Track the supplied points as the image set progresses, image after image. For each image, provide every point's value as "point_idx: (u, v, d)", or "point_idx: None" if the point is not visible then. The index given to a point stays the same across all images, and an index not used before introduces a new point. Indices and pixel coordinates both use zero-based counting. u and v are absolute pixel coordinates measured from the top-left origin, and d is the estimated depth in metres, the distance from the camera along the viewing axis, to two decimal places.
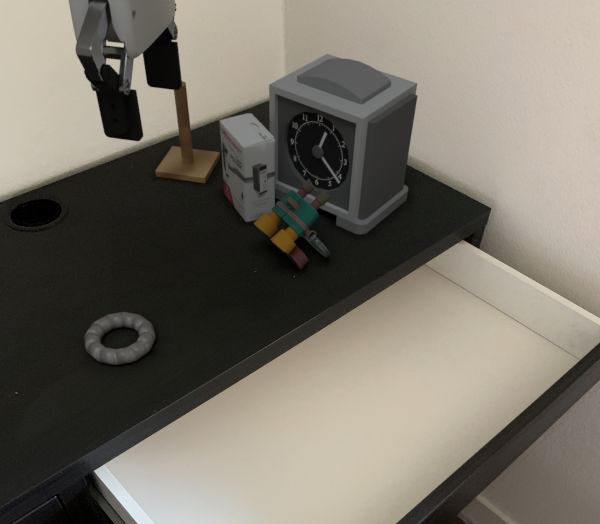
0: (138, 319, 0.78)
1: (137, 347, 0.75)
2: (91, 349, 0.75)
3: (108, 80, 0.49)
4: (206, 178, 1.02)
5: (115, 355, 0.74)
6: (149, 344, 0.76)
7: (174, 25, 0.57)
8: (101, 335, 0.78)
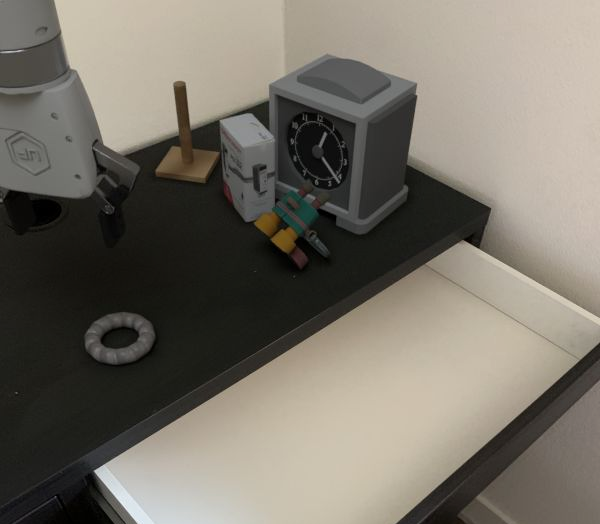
0: (138, 319, 0.78)
1: (137, 347, 0.75)
2: (91, 349, 0.75)
3: None
4: (206, 178, 1.02)
5: (115, 355, 0.74)
6: (149, 344, 0.76)
7: None
8: (101, 335, 0.78)
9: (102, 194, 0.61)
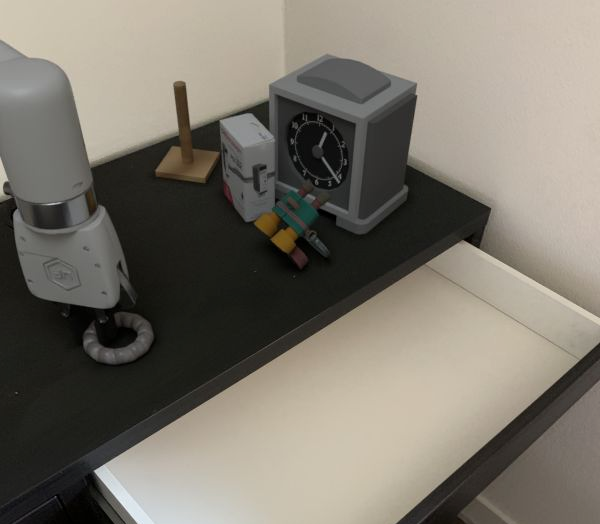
0: (136, 319, 0.78)
1: (135, 347, 0.75)
2: (89, 349, 0.75)
3: None
4: (206, 178, 1.02)
5: (113, 355, 0.74)
6: (147, 344, 0.76)
7: None
8: None
9: (105, 309, 0.73)
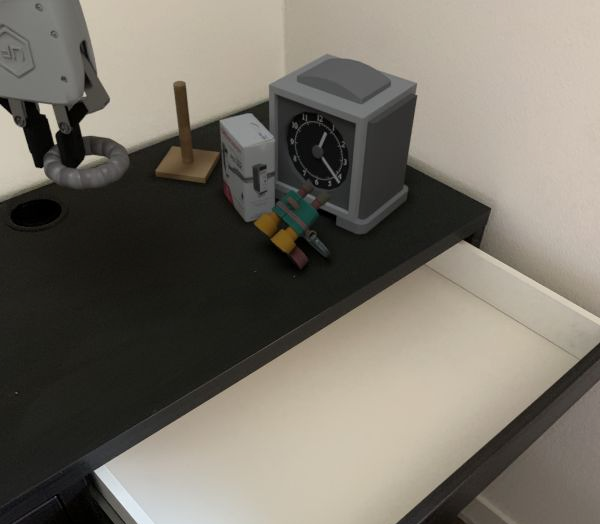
0: (109, 142, 0.65)
1: (106, 168, 0.62)
2: (50, 169, 0.62)
3: None
4: (206, 178, 1.02)
5: (79, 175, 0.61)
6: (121, 167, 0.63)
7: None
8: None
9: (68, 114, 0.59)
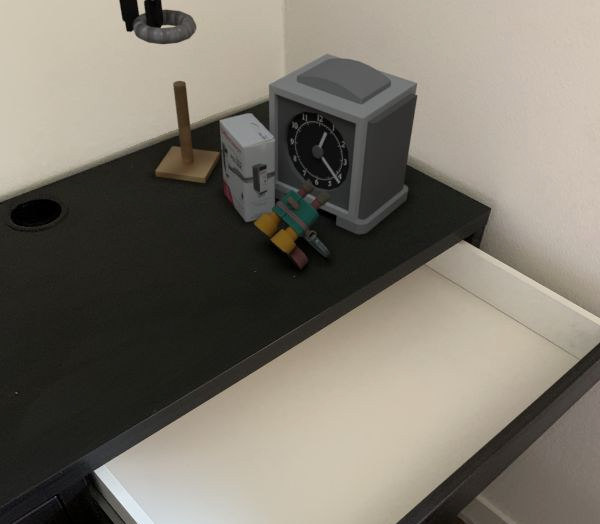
0: (180, 13, 0.87)
1: (181, 27, 0.84)
2: (139, 28, 0.84)
3: None
4: (206, 178, 1.02)
5: (161, 31, 0.83)
6: (191, 28, 0.85)
7: None
8: None
9: None
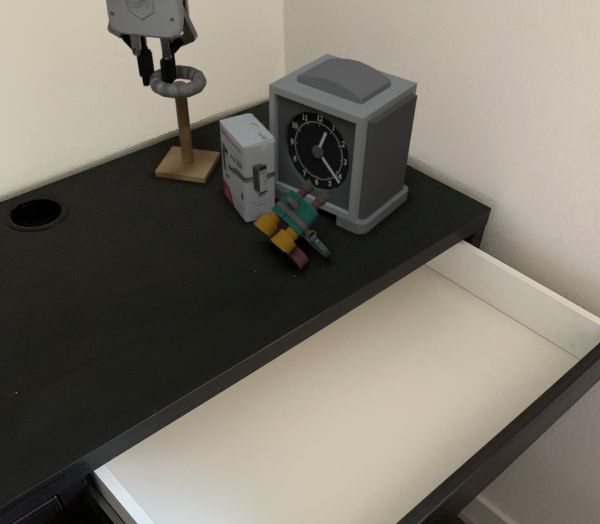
0: (192, 68, 0.96)
1: (193, 83, 0.93)
2: (156, 84, 0.92)
3: None
4: (206, 178, 1.02)
5: (176, 87, 0.92)
6: (202, 83, 0.94)
7: None
8: None
9: (170, 45, 0.90)
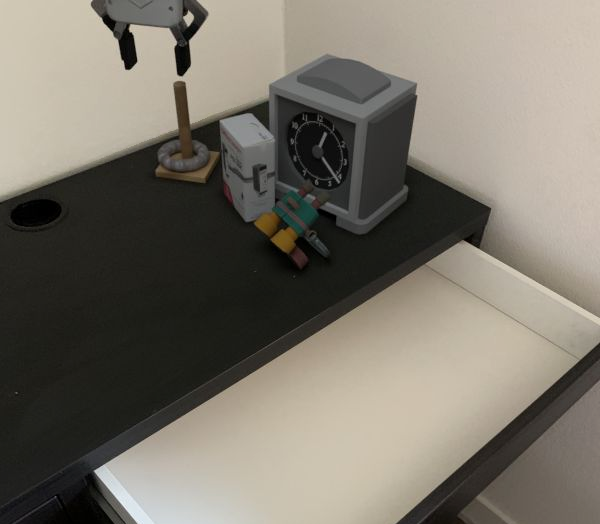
0: (196, 143, 1.04)
1: (197, 158, 1.01)
2: (163, 159, 1.01)
3: None
4: (206, 178, 1.02)
5: (182, 163, 1.00)
6: (206, 158, 1.02)
7: None
8: (169, 153, 1.03)
9: (180, 30, 0.88)
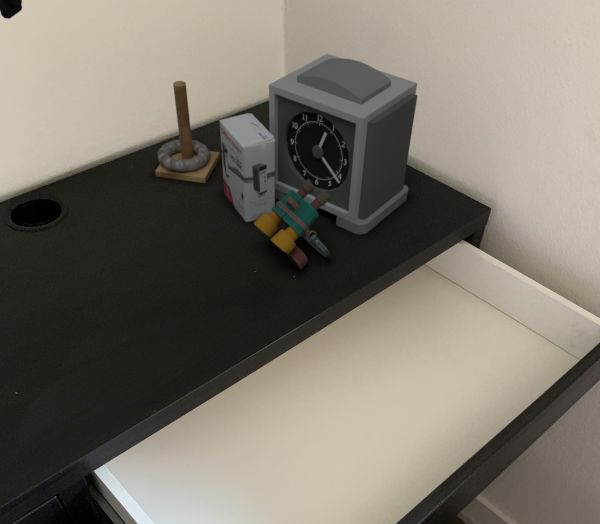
0: (196, 143, 1.04)
1: (197, 158, 1.01)
2: (163, 159, 1.01)
3: None
4: (206, 178, 1.02)
5: (182, 163, 1.00)
6: (206, 158, 1.02)
7: None
8: (169, 153, 1.03)
9: None
